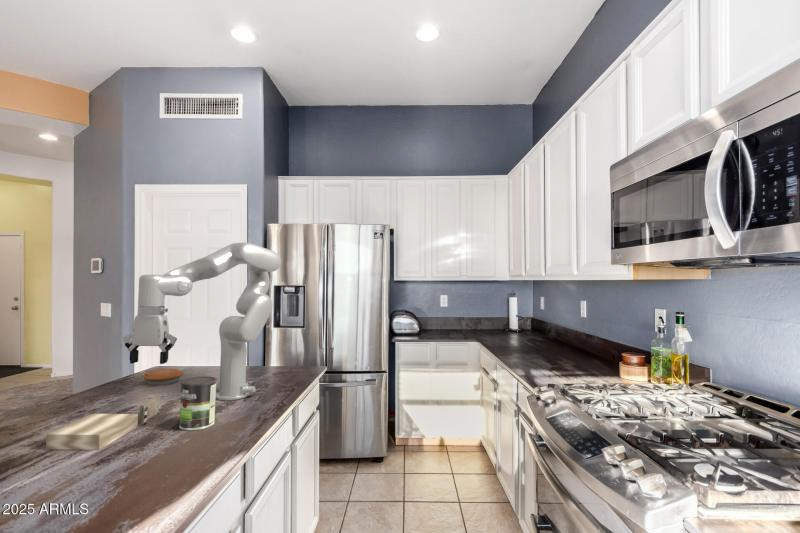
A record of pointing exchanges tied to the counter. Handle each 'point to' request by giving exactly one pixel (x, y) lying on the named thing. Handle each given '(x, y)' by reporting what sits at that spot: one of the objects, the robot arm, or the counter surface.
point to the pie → (162, 376)
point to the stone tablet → (148, 409)
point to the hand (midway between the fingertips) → (148, 362)
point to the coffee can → (197, 403)
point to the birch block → (92, 432)
